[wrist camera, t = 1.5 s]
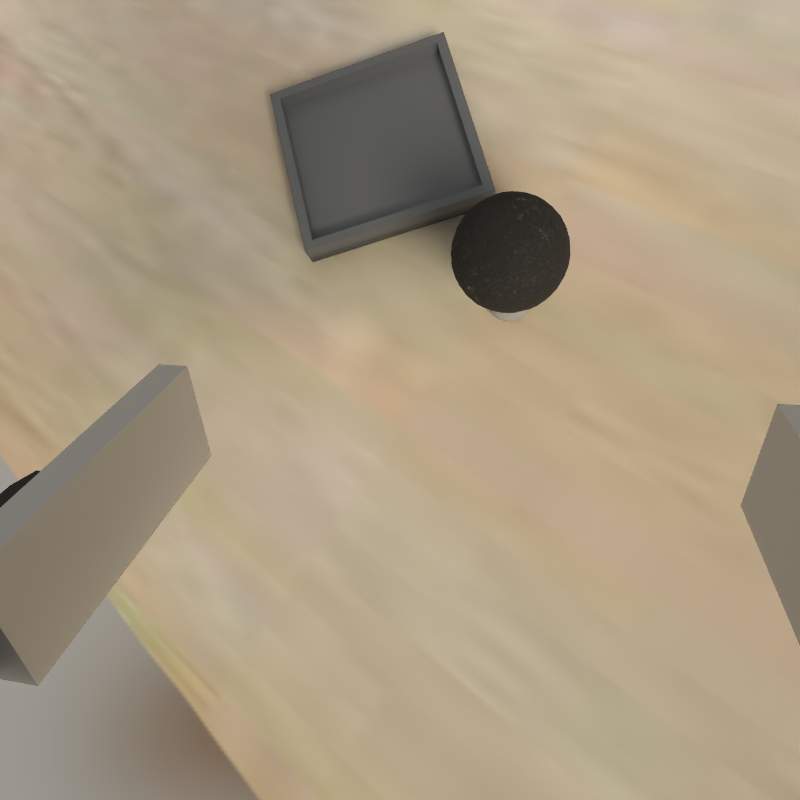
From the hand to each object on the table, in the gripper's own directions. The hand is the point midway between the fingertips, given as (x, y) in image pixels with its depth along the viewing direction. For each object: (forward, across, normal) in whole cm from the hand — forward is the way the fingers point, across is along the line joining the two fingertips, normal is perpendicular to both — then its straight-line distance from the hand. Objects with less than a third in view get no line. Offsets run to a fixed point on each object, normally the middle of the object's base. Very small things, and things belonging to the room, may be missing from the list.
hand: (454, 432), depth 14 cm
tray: (+29, -8, +1) cm, 31 cm away
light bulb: (+22, +1, -6) cm, 23 cm away
